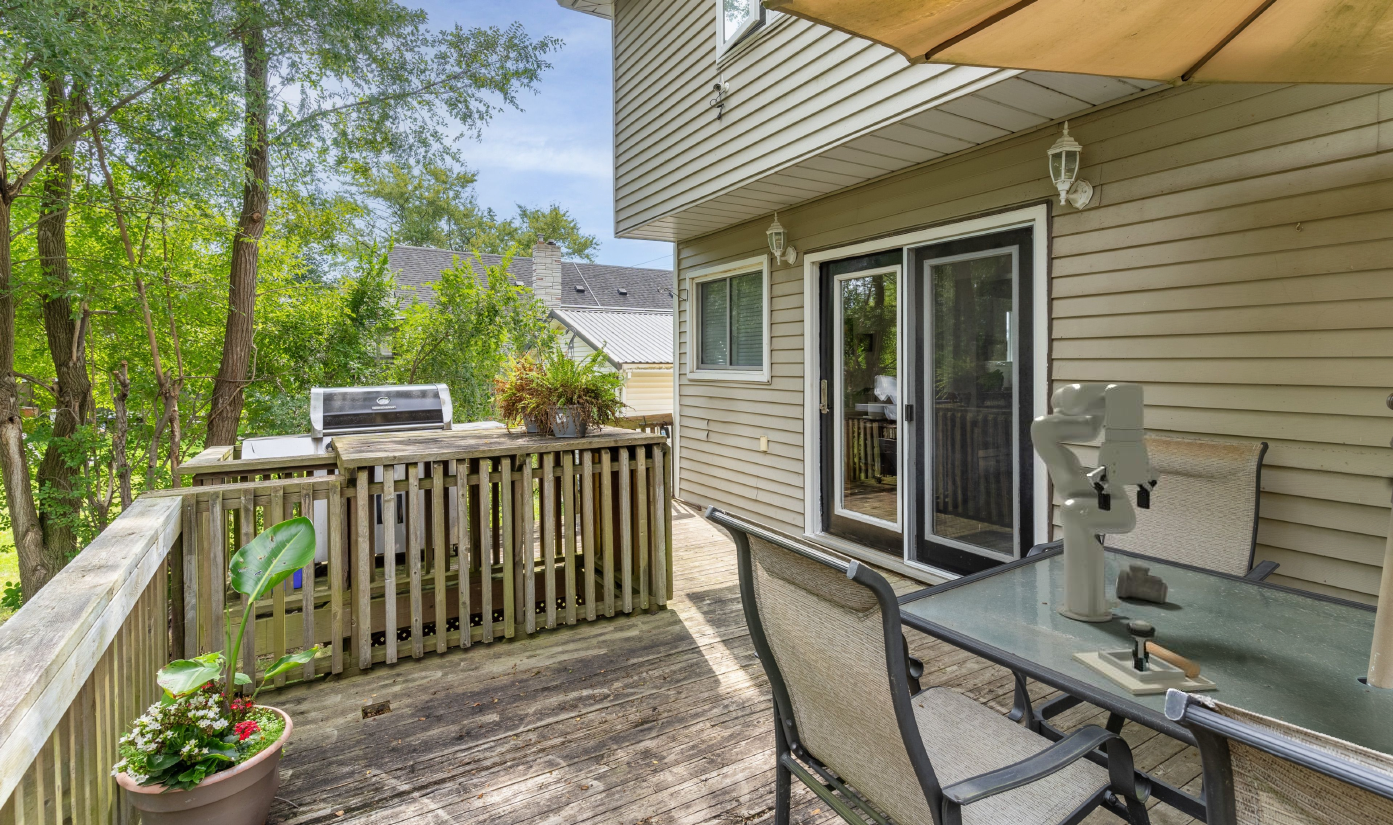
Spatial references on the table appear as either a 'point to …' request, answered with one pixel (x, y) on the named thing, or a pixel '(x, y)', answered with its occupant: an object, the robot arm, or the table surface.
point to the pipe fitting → (1140, 584)
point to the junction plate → (1159, 671)
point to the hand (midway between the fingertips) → (1123, 508)
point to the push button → (1140, 642)
